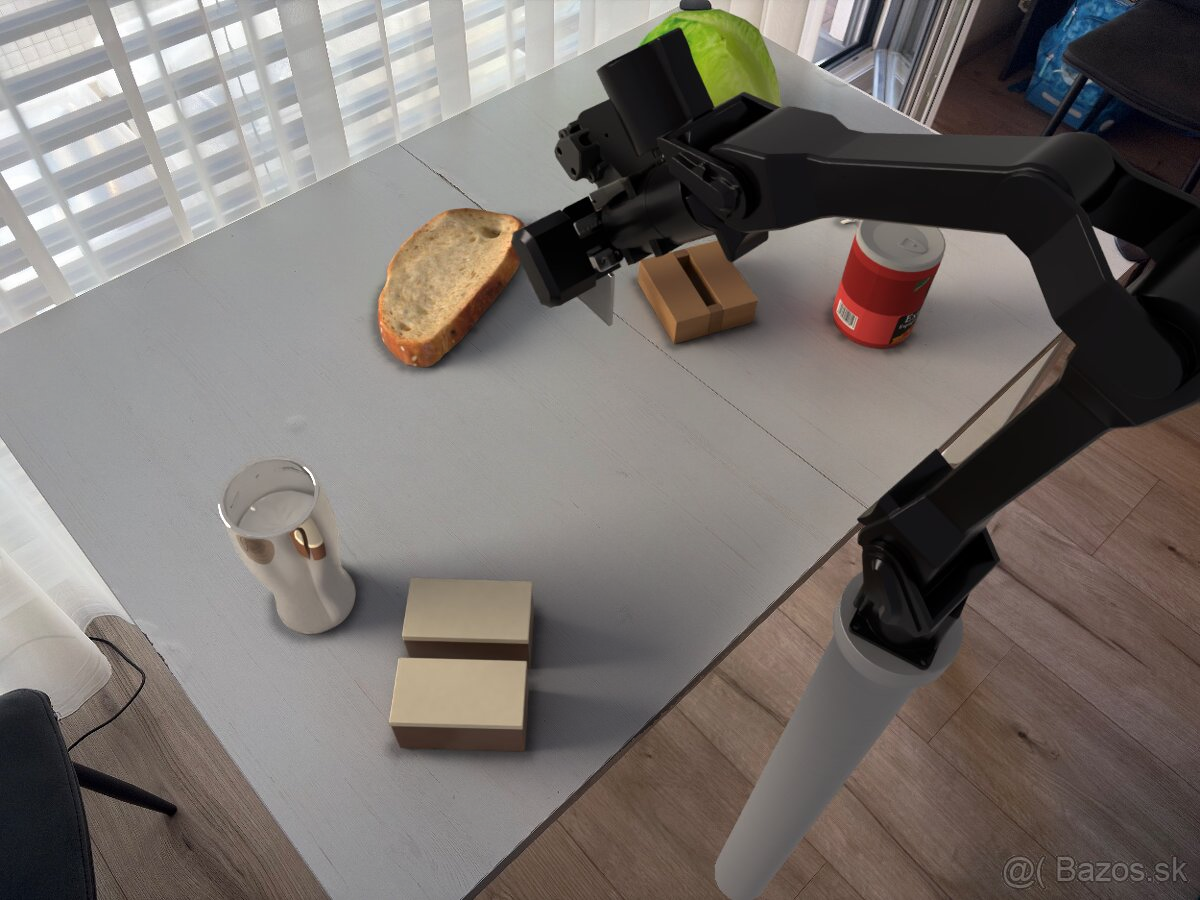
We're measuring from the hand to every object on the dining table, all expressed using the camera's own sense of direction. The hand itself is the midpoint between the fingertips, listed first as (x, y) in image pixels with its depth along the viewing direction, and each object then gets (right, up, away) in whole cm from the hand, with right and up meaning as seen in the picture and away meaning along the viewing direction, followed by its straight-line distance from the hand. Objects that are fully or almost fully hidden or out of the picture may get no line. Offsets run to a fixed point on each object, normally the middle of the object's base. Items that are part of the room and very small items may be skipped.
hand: (581, 237), depth 82 cm
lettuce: (+13, +18, +31) cm, 38 cm away
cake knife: (+1, -5, +5) cm, 7 cm away
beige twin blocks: (-8, -35, -9) cm, 37 cm away
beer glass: (-21, -30, -5) cm, 37 cm away
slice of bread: (-13, -2, +15) cm, 20 cm away
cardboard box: (+11, -3, +15) cm, 19 cm away
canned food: (+28, -5, +14) cm, 32 cm away
